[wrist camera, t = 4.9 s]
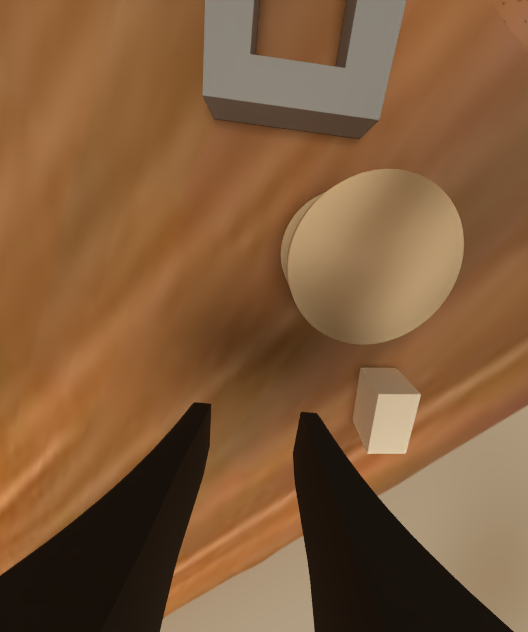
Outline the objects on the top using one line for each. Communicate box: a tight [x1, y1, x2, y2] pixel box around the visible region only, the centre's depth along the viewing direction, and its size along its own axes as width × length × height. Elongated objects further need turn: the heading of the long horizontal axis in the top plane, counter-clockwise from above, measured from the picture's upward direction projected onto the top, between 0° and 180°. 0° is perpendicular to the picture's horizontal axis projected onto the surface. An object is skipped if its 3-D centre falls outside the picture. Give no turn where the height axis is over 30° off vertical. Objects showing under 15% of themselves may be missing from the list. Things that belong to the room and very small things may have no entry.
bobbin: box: [281, 169, 464, 345], centre depth 13 cm, size 7×7×6 cm
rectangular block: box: [352, 368, 421, 454], centre depth 18 cm, size 3×5×3 cm, turn 0°
